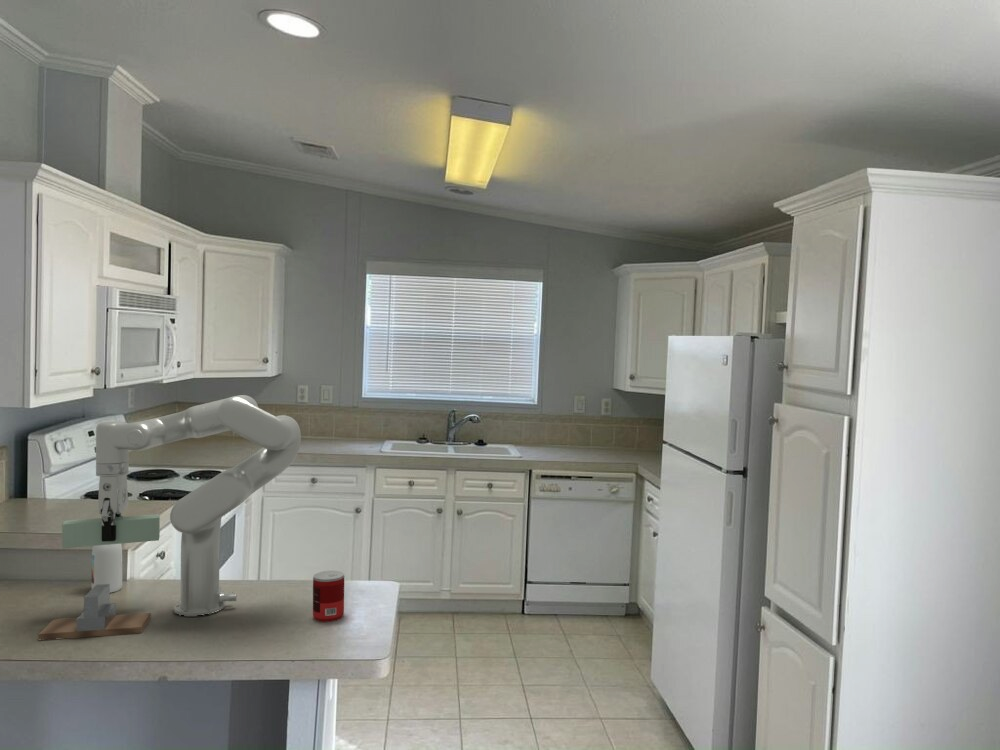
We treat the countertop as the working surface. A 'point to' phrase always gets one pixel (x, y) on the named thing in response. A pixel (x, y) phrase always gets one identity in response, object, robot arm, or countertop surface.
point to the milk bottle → (107, 566)
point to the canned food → (328, 596)
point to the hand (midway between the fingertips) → (112, 537)
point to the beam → (126, 531)
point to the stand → (96, 619)
